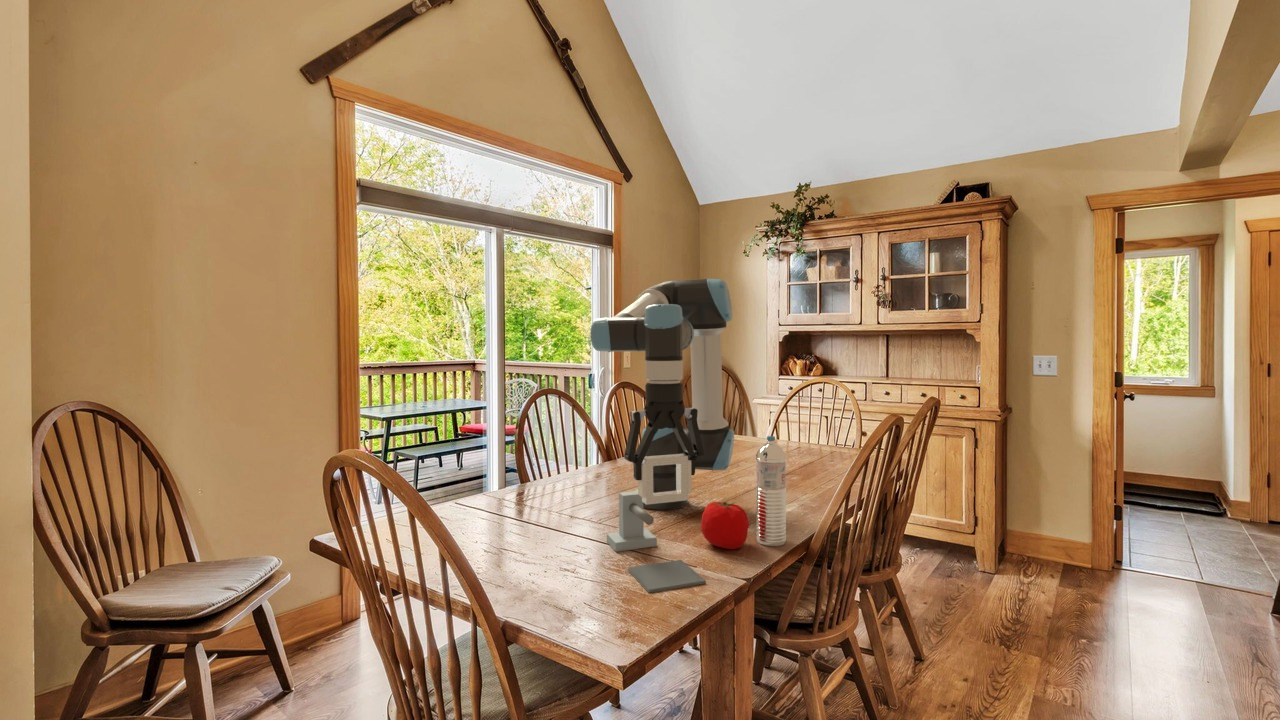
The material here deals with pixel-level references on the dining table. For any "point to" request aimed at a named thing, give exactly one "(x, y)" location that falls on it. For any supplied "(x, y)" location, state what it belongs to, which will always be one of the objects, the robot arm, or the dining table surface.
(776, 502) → the water bottle
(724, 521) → the tomato
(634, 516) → the stand
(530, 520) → the dining table surface
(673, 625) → the dining table surface
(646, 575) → the coaster
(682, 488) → the square ring
